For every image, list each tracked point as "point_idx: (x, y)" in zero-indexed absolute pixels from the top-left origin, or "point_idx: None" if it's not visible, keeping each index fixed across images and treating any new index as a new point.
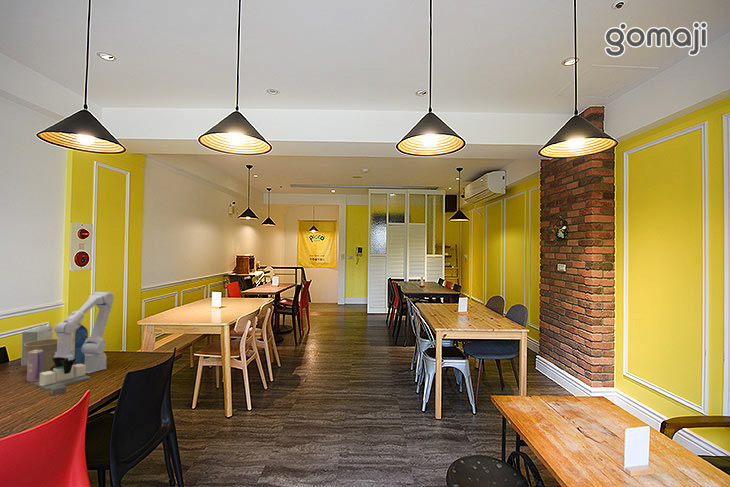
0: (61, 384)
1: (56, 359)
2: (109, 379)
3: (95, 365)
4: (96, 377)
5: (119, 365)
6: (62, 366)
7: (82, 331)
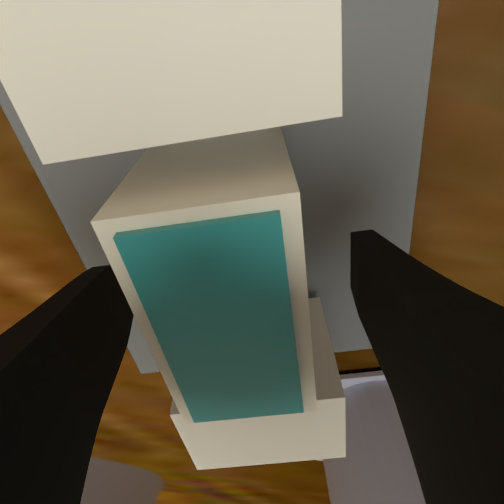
0: (31, 154)
1: (491, 449)
2: None
3: (324, 465)
4: (148, 385)
5: (322, 491)
6: (263, 336)
7: None
